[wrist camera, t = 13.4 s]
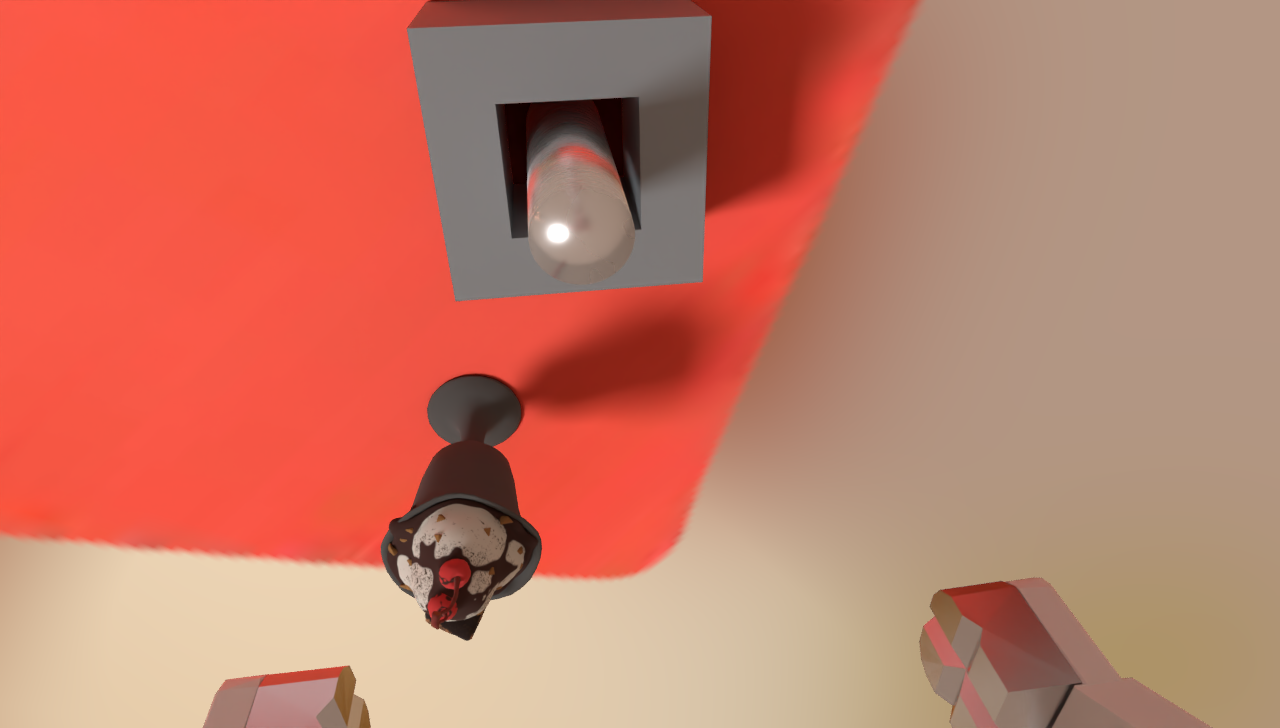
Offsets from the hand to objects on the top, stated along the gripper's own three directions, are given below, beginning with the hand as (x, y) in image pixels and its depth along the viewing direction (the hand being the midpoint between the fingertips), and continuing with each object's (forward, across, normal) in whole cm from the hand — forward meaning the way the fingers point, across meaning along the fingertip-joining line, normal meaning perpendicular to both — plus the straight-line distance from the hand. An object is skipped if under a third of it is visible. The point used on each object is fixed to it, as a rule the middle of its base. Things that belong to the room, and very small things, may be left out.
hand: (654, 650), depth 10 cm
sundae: (+26, +6, +15) cm, 31 cm away
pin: (+26, 0, 0) cm, 26 cm away
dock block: (+26, 0, 0) cm, 26 cm away
